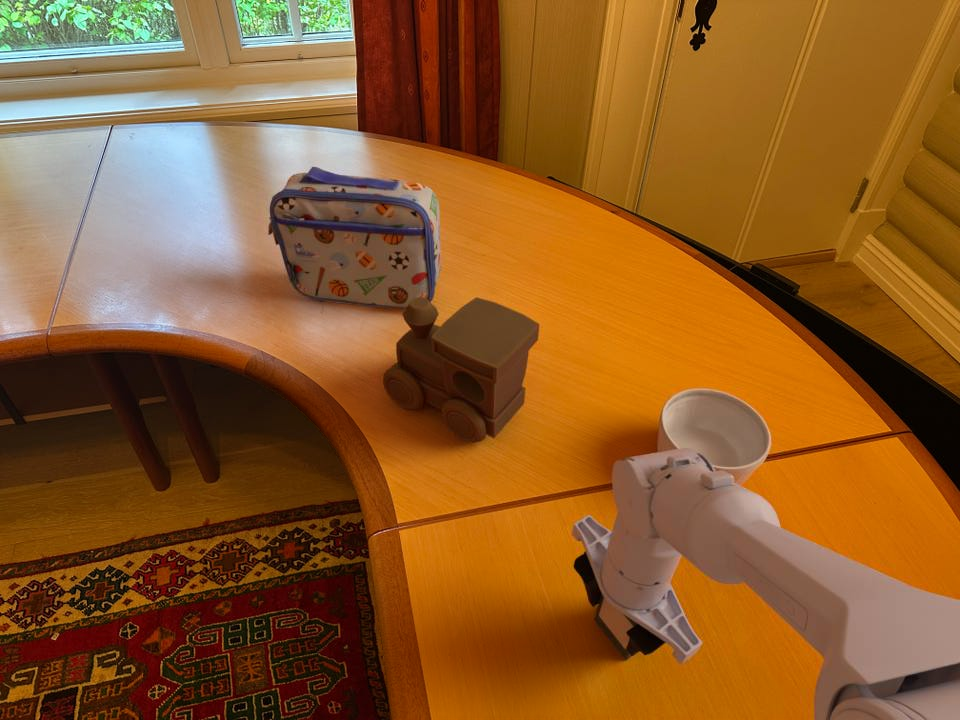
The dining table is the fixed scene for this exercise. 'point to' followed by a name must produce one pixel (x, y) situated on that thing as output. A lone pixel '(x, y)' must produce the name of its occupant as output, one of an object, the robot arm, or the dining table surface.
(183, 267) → the dining table surface
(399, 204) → the lunch box
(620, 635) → the carton
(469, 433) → the wooden toy train
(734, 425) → the ramekin
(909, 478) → the dining table surface
